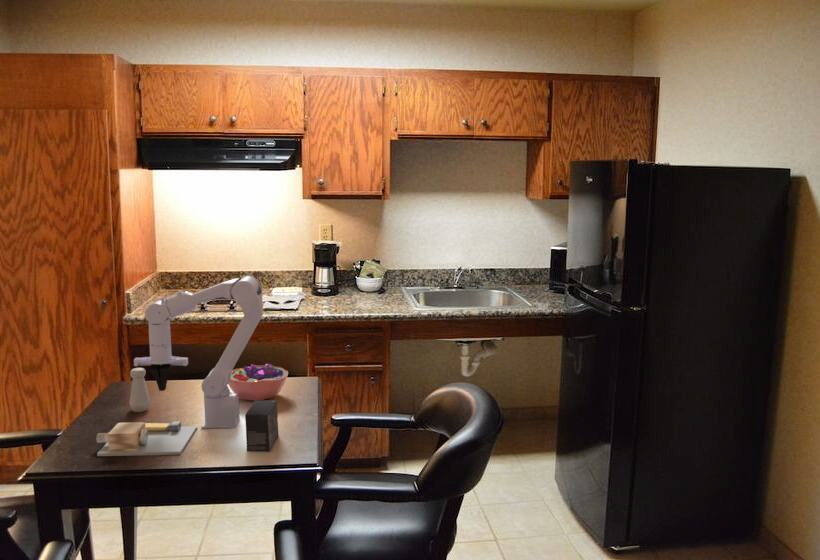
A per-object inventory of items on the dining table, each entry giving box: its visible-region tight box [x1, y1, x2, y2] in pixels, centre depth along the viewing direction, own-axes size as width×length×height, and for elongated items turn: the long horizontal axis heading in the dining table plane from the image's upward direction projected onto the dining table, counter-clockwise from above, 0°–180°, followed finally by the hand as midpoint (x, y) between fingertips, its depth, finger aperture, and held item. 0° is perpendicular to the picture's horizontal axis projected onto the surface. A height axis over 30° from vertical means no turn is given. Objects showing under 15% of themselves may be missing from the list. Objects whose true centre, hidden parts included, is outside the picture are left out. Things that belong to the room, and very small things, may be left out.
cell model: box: [227, 363, 289, 402], centre depth 214 cm, size 17×20×11 cm
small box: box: [244, 399, 280, 453], centre depth 179 cm, size 11×6×10 cm, turn 178°
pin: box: [95, 429, 148, 445], centre depth 176 cm, size 12×4×4 cm, turn 94°
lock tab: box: [145, 422, 172, 431], centre depth 186 cm, size 8×3×1 cm, turn 94°
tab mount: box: [170, 420, 182, 432], centre depth 186 cm, size 2×3×2 cm, turn 4°
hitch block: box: [107, 421, 146, 451], centre depth 176 cm, size 7×8×5 cm
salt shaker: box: [129, 367, 151, 413], centre depth 203 cm, size 6×6×13 cm
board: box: [96, 425, 198, 457], centre depth 180 cm, size 21×17×1 cm
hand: (162, 389), depth 191 cm, fingers closed
